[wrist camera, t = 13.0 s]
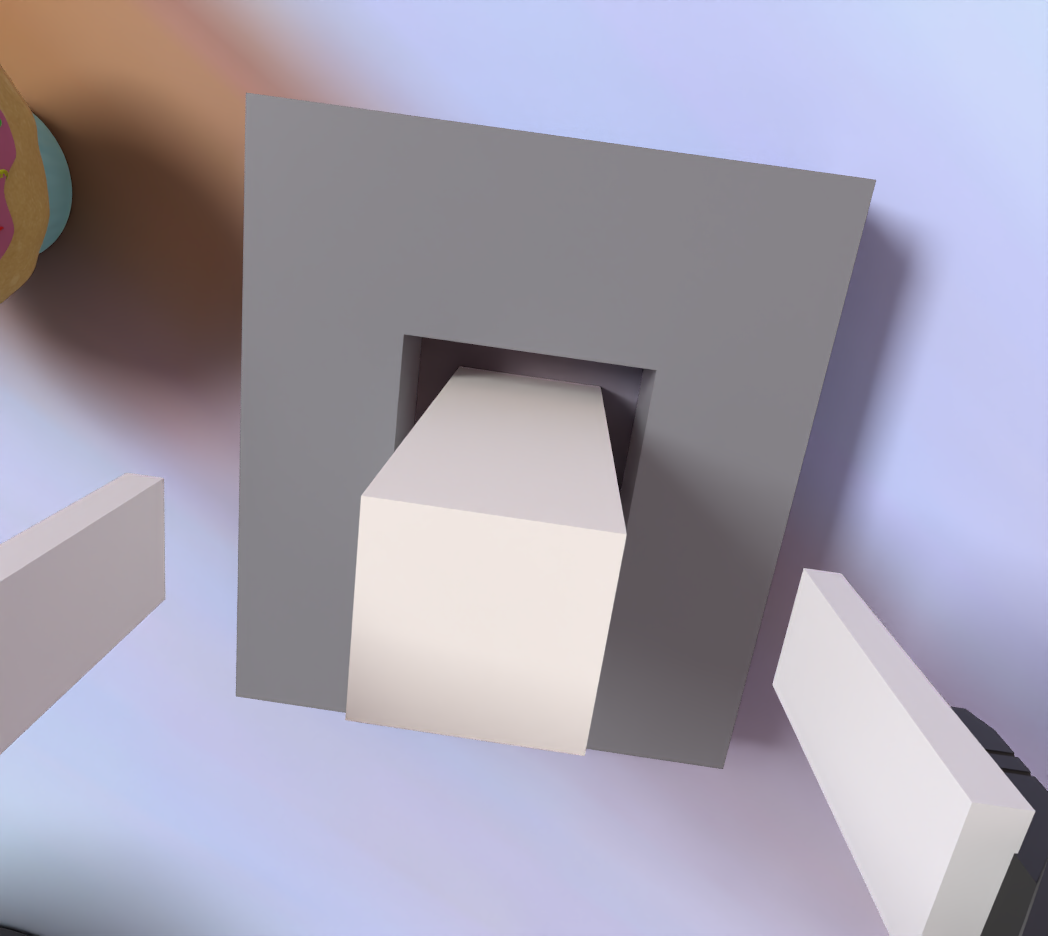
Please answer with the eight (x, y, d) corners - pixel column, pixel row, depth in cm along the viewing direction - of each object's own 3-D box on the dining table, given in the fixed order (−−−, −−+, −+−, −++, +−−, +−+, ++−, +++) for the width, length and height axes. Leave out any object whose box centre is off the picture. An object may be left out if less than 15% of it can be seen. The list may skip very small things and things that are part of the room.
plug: (578, 517, 26) (584, 755, 14) (445, 498, 26) (345, 719, 14) (600, 386, 24) (626, 534, 13) (459, 366, 24) (360, 495, 13)
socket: (707, 712, 28) (722, 768, 25) (270, 647, 28) (235, 696, 25) (836, 185, 22) (875, 180, 19) (287, 109, 22) (245, 92, 19)
